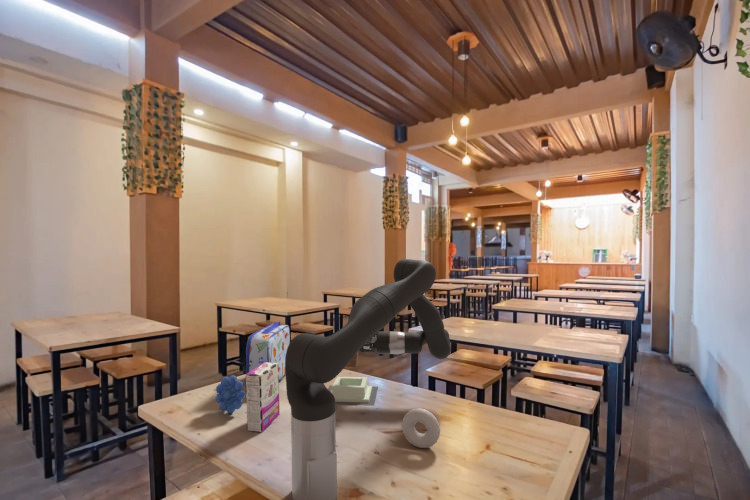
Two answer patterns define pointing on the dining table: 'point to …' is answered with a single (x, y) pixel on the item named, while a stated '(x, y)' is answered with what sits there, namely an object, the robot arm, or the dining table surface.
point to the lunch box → (268, 347)
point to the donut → (428, 420)
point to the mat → (371, 402)
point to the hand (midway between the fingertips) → (342, 342)
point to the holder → (351, 389)
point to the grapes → (230, 394)
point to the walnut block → (353, 361)
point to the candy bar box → (262, 396)
